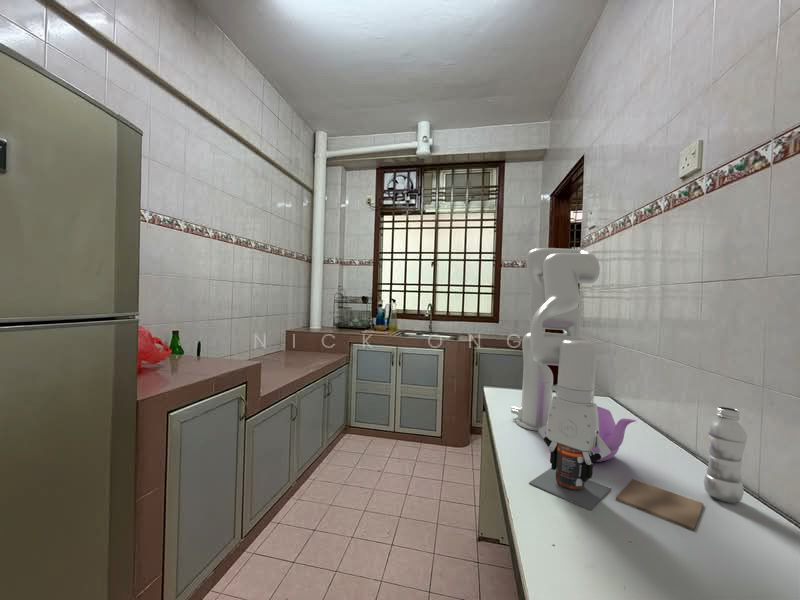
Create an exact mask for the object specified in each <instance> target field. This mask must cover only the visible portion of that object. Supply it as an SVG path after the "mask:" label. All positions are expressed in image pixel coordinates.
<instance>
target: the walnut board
mask: <svg viewBox="0 0 800 600" xmlns="http://www.w3.org/2000/svg"><path fill="white" fill-rule="evenodd" d="M618 500H619V501H618ZM615 501H618V502H620V501H621V503H623V502H624V503H623V504H625V503H626V505H628V504H629V505H628V506H630V505H631V506H630V507H634V508H635V507H636V509H638V510H640V509H641V510H640V511H643V512H645V511H646V512H645V513H648V514H650V515H652V516H656V517H658V518H660V519H663V520H666V521H668V522H670V521H671V522H670V523H673V522H674V523H673V524H675V523H676V524H675V525H678V526H680V525H681V526H680V527H683V528H685V527H686V529H687V530H690V529H691V530H690V531H693V530H694V531H695V529H696V526H697V523H698V521H699V519H700V516H701V513H702V510H703V508H704V502H700V501H698V500H694V499H692V498H688V497H686V496H684V495H680V494H677V493H674V492H671V491H670V490H666V489H664V488H660V487H657V486H654V485H652V484H650V483H646V482H644V481H640V480H638V479H634V478H632V479H631V480H629V482H628V483H627V484H626V485H625V486H624V488H623V489H621V491H620V492H619V493H618V494H617V495H616V497H615Z"/></svg>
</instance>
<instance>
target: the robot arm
mask: <svg viewBox="0 0 800 600" xmlns="http://www.w3.org/2000/svg"><path fill="white" fill-rule="evenodd" d="M600 270H601V269H600V262H599V260H598V258H597V256H596V255H595V254H593V253H592V252H590V251H587V250H586V249H583V248H582V249H581V248H560V247H559V248H556V247H541V248H540V247H539V248H534V249H531V250H530V251H528V253H527V255H526V272H527V275H528V279H529V283H530V295H529V296H530V297H529V308H528V309H529V310H528V320H529V323H530V327H529V332H528V333H525V335H524V336H523V337H522V340H521V341H522V343H521V347H522V356H523V359H522V360H523V372H522V374H523V375H522V391H521V403H520V404H521V407H517V406H514V405H513V406H511V408H510V409H511V410H510V412H511V414H513V415H517V417H516V418H515V423H516V424H517V425H518V426H520V427H522V428H524V429H527V430H531V431H536V432H538V434H539V435H540V436H541V438H543V442H545V444H546V446H547V447H548V450H549V451H550V457H549V459H550V460H549V464H551V465H550V466H551V467H550V468H551V469H553V470H555V469H556V462H557V447H558V444H561V445H564V446H567V447H570V448H573V449H576V450H579V451H582V453H583V456H584V459H585V462H584V463H583V465H582V481H583V482H586V481H587V480H590V479H592V477H593V472H594V463H596V461H598V460H600V459H601V458H603V457H605V456H607V455H609V454H610V453H611V451H610V449H609V448H608V447H607V445H606V444H605V443H604V441H603V440H602V439H601V437H600V436H599V418H598V410H597V406H598V405H597V403H594V402H595V400H594V399H595V385H596V371H597V370H596V369H597V356H598V355H597V353H598V351H597V345H596V344H595V343H594V342H592V341H590V340H589V339H588V338H586V337H583V336H581V329H582V328H581V327H582V311H581V308H580V306H579V305H580V303H581V296H580V295H581V294H580V289H579V284H587V285H589V284H594V283H595V282H597V280H598V279H599V276H600ZM543 329H544V330H545V329H546V330H558V331H559V330H560V331H562V332H563V333H560V332H559V333H558V332H545V331H543ZM549 366H557V367H558V369H557V370H558V371H557V372H558V373H557V383H556V384H554V374H553V371H552V369H551V368H550V367H549ZM553 392H555V395H554V396H553ZM596 447H599V449H600V452H597V453H596V454H594V452H593V450H594V448H596Z"/></svg>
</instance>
